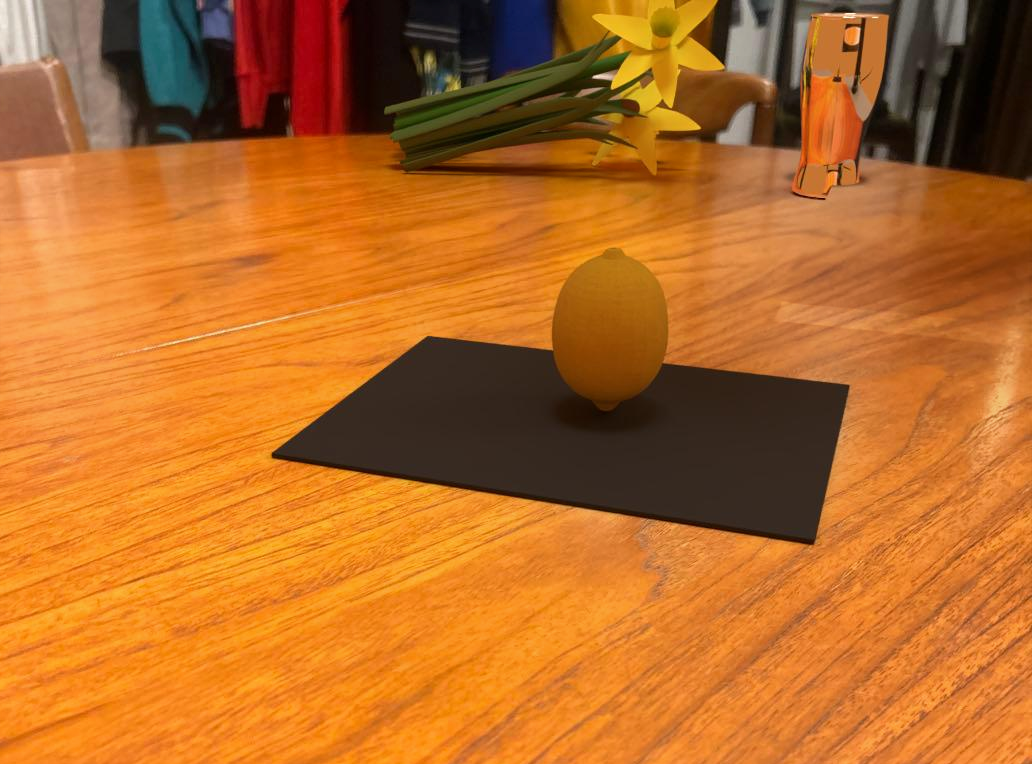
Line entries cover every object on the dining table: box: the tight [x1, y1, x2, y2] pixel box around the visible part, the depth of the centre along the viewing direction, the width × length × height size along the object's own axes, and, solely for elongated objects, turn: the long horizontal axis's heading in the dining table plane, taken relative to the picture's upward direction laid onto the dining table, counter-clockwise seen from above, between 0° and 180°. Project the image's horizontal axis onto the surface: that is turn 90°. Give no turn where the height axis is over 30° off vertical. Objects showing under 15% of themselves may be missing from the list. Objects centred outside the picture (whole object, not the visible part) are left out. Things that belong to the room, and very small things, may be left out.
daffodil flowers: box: [384, 0, 726, 176], centre depth 108 cm, size 17×15×35 cm
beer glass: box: [791, 12, 890, 198], centre depth 98 cm, size 7×7×15 cm
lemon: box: [551, 247, 669, 411], centre depth 52 cm, size 6×6×8 cm
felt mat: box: [271, 335, 851, 545], centre depth 53 cm, size 24×18×1 cm
